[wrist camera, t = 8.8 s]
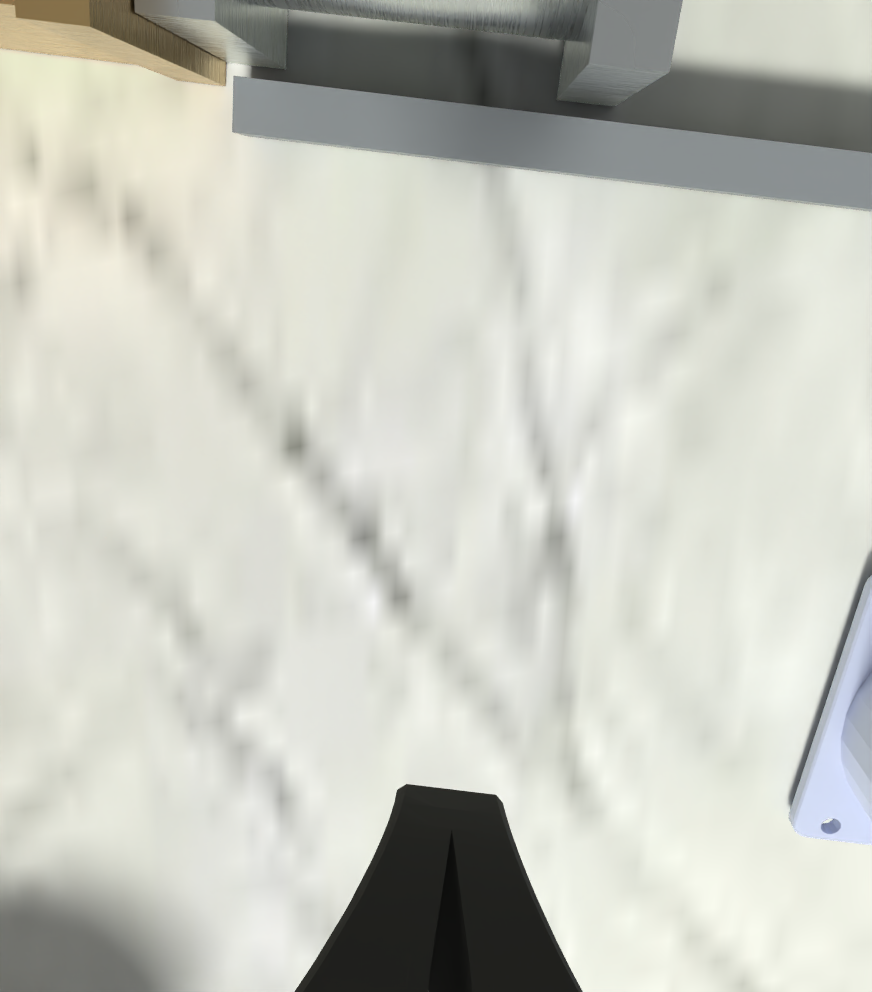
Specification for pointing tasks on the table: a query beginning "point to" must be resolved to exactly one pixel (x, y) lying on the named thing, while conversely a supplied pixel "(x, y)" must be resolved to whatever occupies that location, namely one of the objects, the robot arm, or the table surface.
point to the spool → (464, 5)
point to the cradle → (552, 143)
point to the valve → (105, 37)
